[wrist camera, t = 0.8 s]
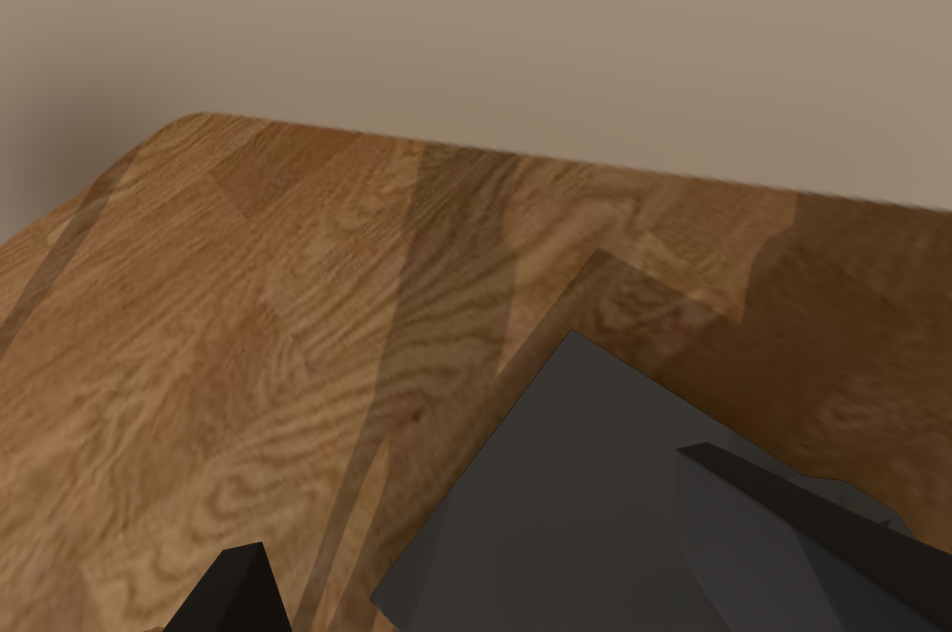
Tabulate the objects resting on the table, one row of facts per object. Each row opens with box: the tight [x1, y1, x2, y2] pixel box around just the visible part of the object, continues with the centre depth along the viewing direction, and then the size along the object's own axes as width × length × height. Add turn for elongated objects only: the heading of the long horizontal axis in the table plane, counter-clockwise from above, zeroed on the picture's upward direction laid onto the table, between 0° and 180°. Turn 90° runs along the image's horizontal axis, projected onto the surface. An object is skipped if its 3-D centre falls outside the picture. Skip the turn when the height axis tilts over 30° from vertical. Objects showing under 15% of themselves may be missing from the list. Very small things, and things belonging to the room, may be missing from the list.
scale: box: [369, 329, 917, 632], centre depth 19 cm, size 15×14×3 cm
